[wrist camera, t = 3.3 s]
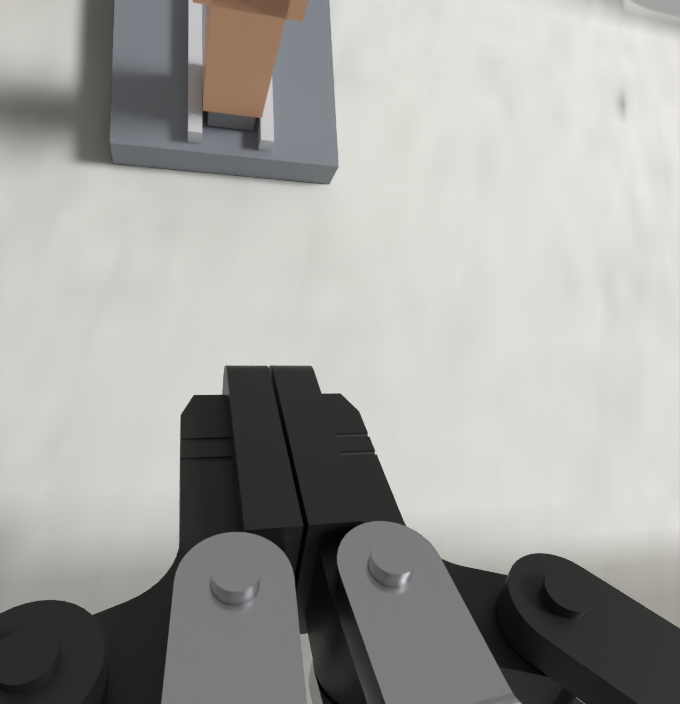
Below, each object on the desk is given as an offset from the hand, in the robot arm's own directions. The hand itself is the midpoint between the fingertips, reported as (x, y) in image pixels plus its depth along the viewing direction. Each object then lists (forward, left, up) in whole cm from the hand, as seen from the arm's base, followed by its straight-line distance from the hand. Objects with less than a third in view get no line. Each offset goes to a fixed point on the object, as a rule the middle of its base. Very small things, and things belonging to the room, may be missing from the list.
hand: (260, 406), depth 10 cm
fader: (+1, +19, -17) cm, 25 cm away
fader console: (+1, +23, -20) cm, 31 cm away
